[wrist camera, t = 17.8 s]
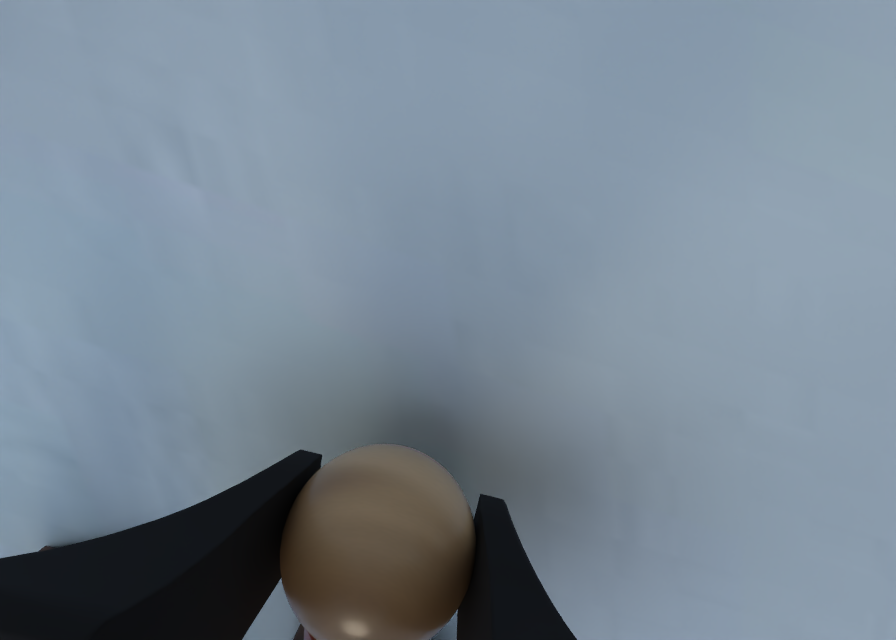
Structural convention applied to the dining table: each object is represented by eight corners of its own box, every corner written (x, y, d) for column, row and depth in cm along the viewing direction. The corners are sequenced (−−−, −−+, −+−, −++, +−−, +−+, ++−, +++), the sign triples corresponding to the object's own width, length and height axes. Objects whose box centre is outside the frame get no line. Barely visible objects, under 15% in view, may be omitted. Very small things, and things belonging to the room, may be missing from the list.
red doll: (436, 648, 16) (407, 826, 12) (314, 616, 16) (248, 779, 13) (500, 430, 12) (486, 602, 8) (330, 389, 12) (233, 536, 8)
